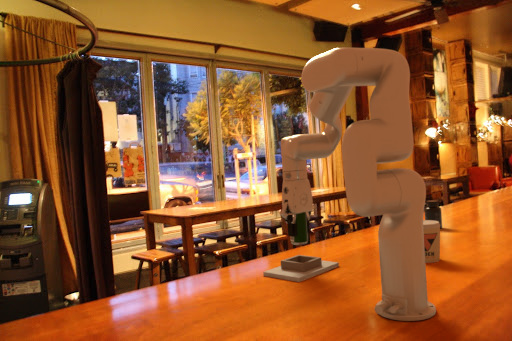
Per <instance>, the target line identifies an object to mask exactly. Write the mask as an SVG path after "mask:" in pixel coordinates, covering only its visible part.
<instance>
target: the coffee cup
mask: <svg viewBox="0 0 512 341" xmlns="http://www.w3.org/2000/svg"><path fill="white" fill-rule="evenodd" d="M423 231H424V250H425V264H429V263H437V262H440V259H441V258H440V257H441V255H440V254H441V251H440V250H441V229H440V224H439V222H438V221H433V220H425V219H423Z"/></svg>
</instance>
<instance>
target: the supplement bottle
mask: <svg viewBox="0 0 512 341" xmlns="http://www.w3.org/2000/svg"><path fill="white" fill-rule="evenodd" d="M425 205H426V206H425V207H424V220H433V221H438V222H439V224H440V230H441V229H442V228H443V218H442V216H443V215H442V208H441V207H440V206H439V205H440V203H439V200H433V199H432V200H425Z"/></svg>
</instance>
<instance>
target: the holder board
mask: <svg viewBox="0 0 512 341" xmlns="http://www.w3.org/2000/svg"><path fill="white" fill-rule="evenodd" d="M339 266H340V263H339V262H336V261H329V260H322V257H318V256H313V255H304V254H297V255H294V256H291V257H287V258H284V259H282V260H280V265H279V266H277V267H273V268H271V269H268V270H264V271H262V272H263V274H262V275H263V277H269V278H274V279H280V280H285V281H292V282H298V283H301V282H303V281H305V280H308V279H312V278H313V277H315V276H318V275H321V274H323V273H326V272H329V271H331V270H333V269H336V268H338V267H339Z"/></svg>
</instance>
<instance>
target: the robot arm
mask: <svg viewBox="0 0 512 341" xmlns="http://www.w3.org/2000/svg"><path fill="white" fill-rule="evenodd" d="M301 72H302V73H301V76H300V78H301V84H302V86H303V89H305V90H306V92H309V93H314V94H313V95H312V97H311V100H310V102H309V104H308V105H309V106H308V108H309V112H310V113H311V115H312V116H314V118H316V119H317V120H319V121H321V122H323V123H325V124H326V126H325V128H324V130H323V131H322V132H319V133H317V132H316V133H304V134H303V133H302V134H300V133H299V134H293V135H291V136H285V137H283V138H281V139H280V154H281V163H282V164H281V165H282V166H281V167H282V185H281V186H282V187H281V188H282V189H281V205H282V208H281V211H280V214H279V215H280V216H281V217H282V218H283V220H284V221H285V223H286V224H287V236H288V237H290V236H293V237H296V236H297V224H296V223H295V219H296V214H300V213H303V212H306V217H307V232H308V234H310V220H311V214H312V212H313V210H314V200H313V193H312V192H313V191H312V187H311V184H310V180H309V179H308V167H307V160H316V159H318V160H319V159H326V158H328V157H330V156H331V155H332V154H333V153H334V152H335V150H336V148H337V147H338V145H339V144H340V141H341V155H342V166H343V167H342V169H343V177H344V184H345V185H344V186H345V195H346V200H347V203H348V205H349V208H350V210H351V211H352V212H353V213H354V214H355V215H357V216H360V217H367V218H368V217H375V216H376V217H377V216H382V217H381V220H380V223H379V226H378V231H377V232H378V235H377V236H378V251H379V254H378V255H379V269H380V282H381V300H380V301H378V302H377V303H376V304H375V306H374V311H375V313H376V314H377V315H380V316H381V317H383V318H386V319H388V320H389V319H390V320H393V321H400V322H411V321H412V322H415V321H424V320H428V319H430V318H433V317H434V316H435V315H436V312H437V308H436V306H435V304H434V303H432V302H431V301H428V300H429V299H428V287H427V286H428V285H427V283H428V282H427V272H426V271H427V270H426V263H425V250H424V231H423V220H424V215H425V211H424V210H425V205H426V197H427V186H426V183H425V181H424V178H423V177H422V175H421V174H420V173H418V172H417V171H415V170H413V169H411V168H405V167H400V168H399V167H397V168H387V169H378V165H379V164H380V165H381V164H389V163H390V164H391V163H396V162H403V161H405V160H406V159H408V158H410V157H411V155H412V154H413V153H414V133H413V132H414V131H413V123H412V122H413V120H412V112H411V103H410V83H411V82H410V81H411V71H410V66H409V63H408V60H407V58H406V57H405V56H404V55H403V54H402V53H401V52H399V51H396V50H394V49H388V48H376V47H374V48H373V47H350V46H349V47H348V46H347V47H346V46H345V47H336V48H333V49H330V50H328V51H326V52H323V53H320V54H318V55H315V56H313V57H312V58H310V59H309V60H308V61H307V62H306V63H305V64H304V67H303V68H302V71H301ZM371 86H374V88H373V90H372V92H371V95H370V98H369V101H368V102H369V103H368V105H369V115H370V119H363V120H357V121H354V122H352V123H350V124H349V125H348V126H347V128H346V129H345V131H344V133H343V124H342V120H341V118H340V116H339V115H340V114H341V112H342V110H343V108H344V106H345V104H346V102H347V100H348V98H349V97H350V94H351V92H352V91H353V89H354V87H371ZM342 133H343V134H342ZM342 135H343V136H342ZM341 139H342V140H341ZM290 211H291V213H290ZM290 215H292V218H291V217H290Z"/></svg>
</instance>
